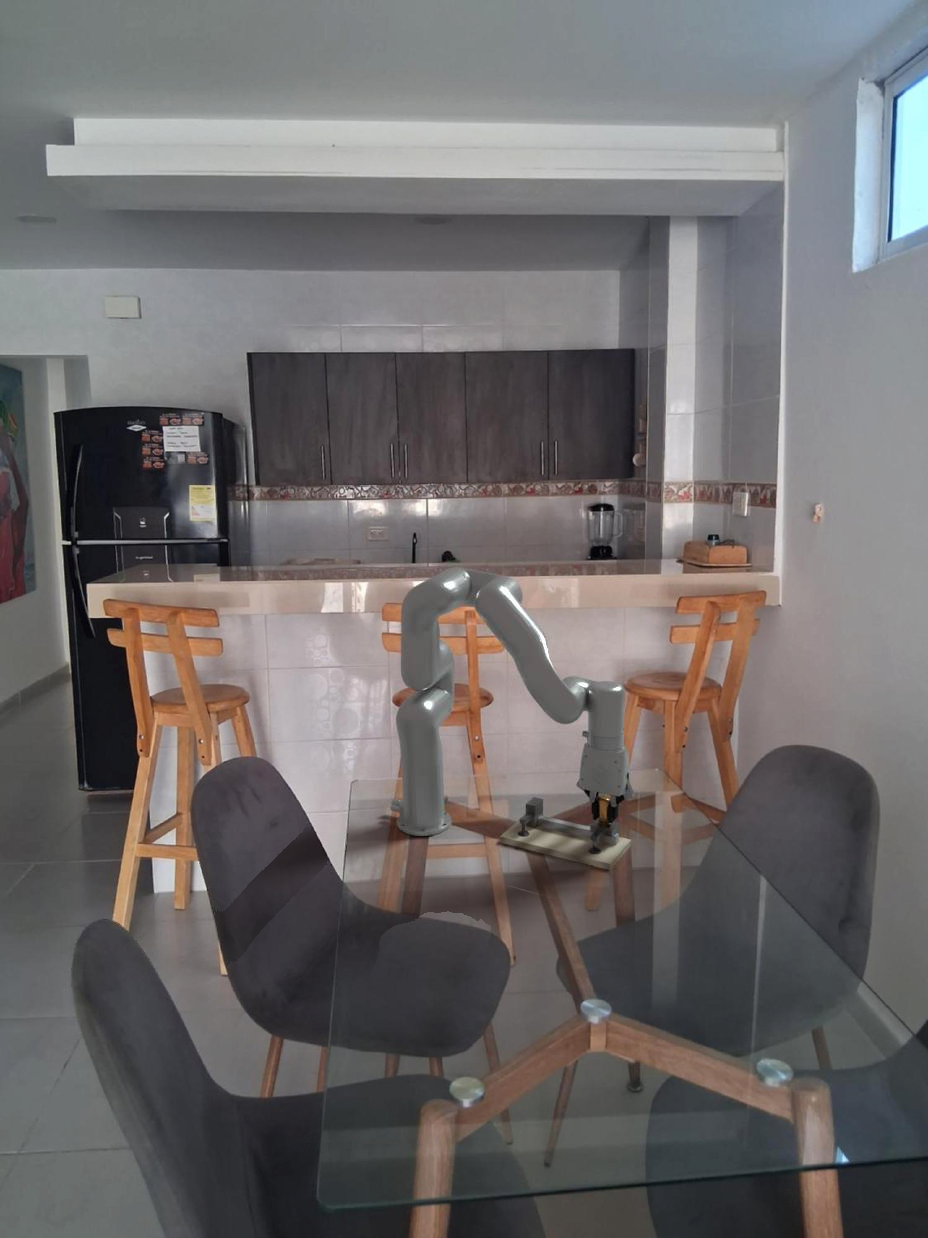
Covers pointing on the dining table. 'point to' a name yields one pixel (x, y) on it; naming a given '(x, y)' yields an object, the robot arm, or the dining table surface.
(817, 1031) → the dining table surface
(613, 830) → the brass and grey piece
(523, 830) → the hole plate
